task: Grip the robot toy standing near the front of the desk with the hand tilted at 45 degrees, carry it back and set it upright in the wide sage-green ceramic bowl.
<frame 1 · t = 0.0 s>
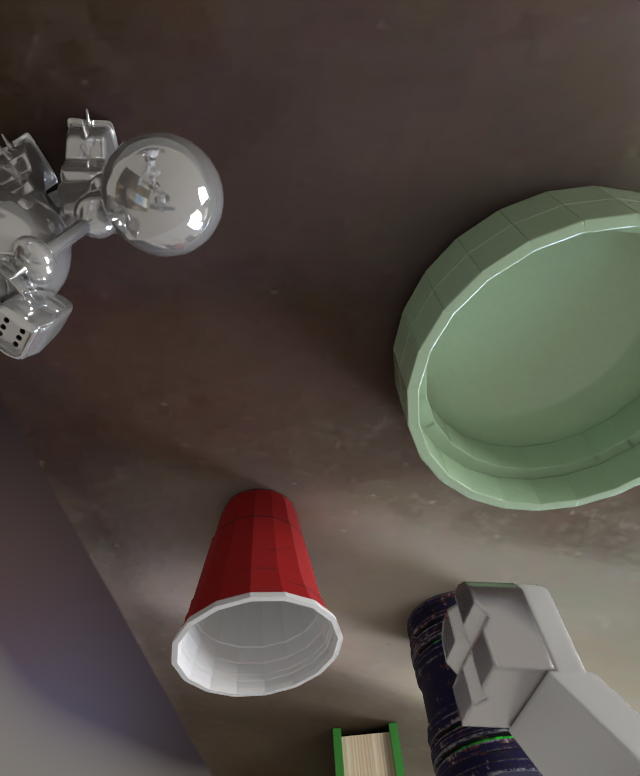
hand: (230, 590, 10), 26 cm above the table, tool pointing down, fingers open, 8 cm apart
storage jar: (455, 619, 56), on the table
robot toy: (102, 171, 31), on the table
plastic cup: (262, 512, 46), on the table
hardback book: (366, 758, 72), on the table
bowl: (544, 341, 38), on the table
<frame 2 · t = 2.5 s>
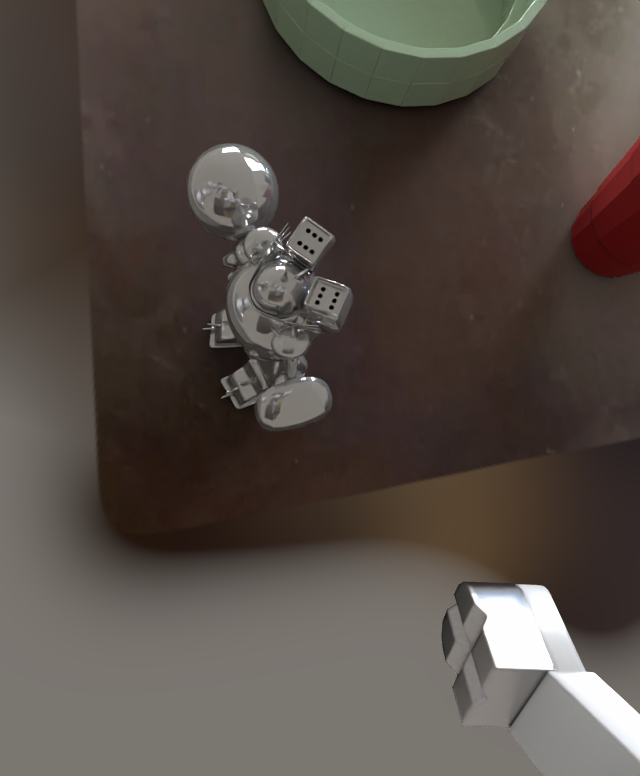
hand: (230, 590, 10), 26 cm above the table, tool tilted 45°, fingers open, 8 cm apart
robot toy: (251, 331, 38), on the table
plastic cup: (603, 239, 43), on the table
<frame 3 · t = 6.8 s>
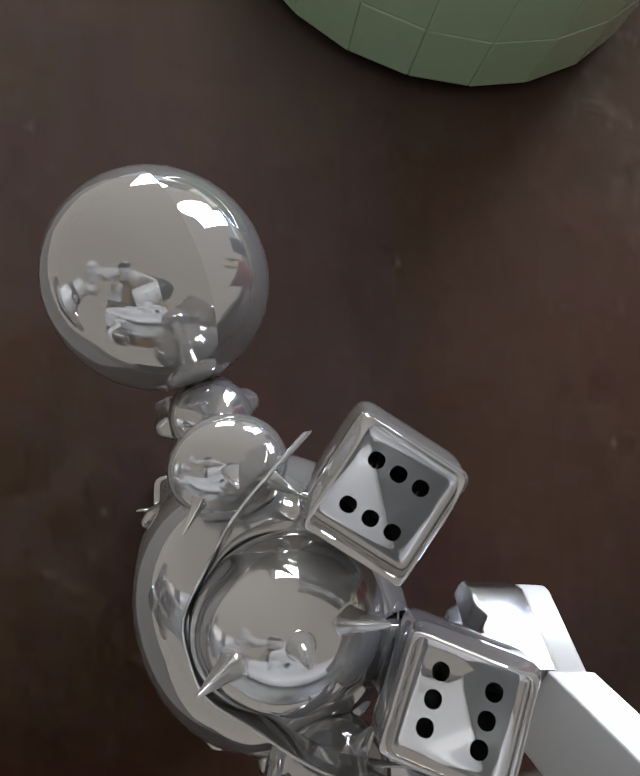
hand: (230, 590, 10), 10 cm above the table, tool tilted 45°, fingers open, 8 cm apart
robot toy: (230, 501, 21), on the table, touching gripper
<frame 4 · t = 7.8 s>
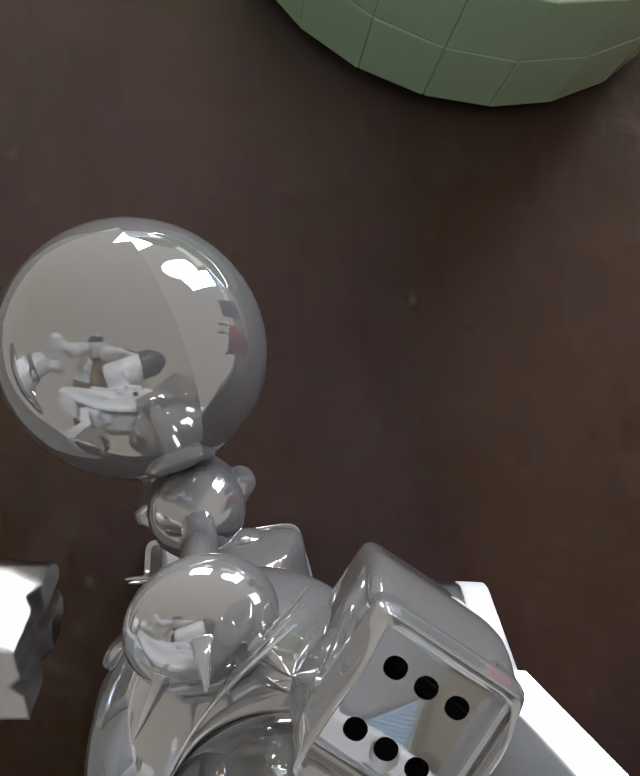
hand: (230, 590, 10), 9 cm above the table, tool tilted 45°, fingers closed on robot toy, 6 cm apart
robot toy: (228, 567, 19), on the table, touching gripper
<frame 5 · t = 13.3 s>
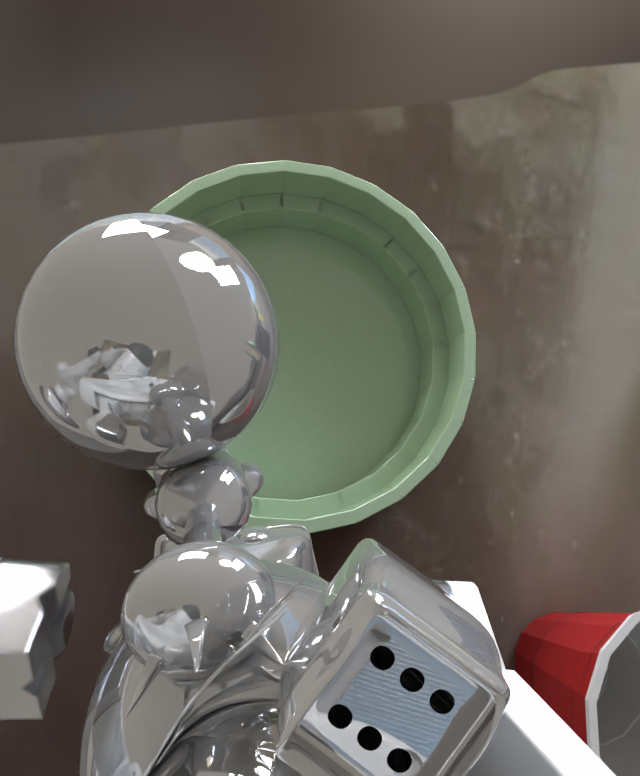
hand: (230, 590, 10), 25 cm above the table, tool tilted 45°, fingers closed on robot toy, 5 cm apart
robot toy: (236, 565, 19), point 15 cm above the table, touching gripper
plastic cup: (554, 656, 36), on the table
bowl: (285, 359, 36), on the table
when the fingers open (10 cm above the table, at t = 19.1 s): robot toy stays where it is, resting on bowl.
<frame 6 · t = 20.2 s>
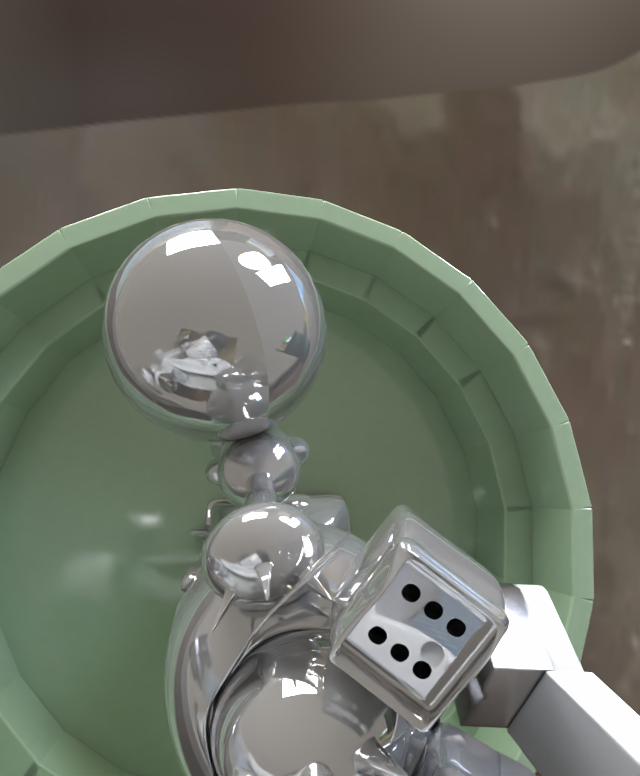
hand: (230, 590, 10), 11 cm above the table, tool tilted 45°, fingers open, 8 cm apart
robot toy: (279, 529, 21), point 1 cm above the table, touching bowl, gripper
bowl: (246, 522, 21), on the table
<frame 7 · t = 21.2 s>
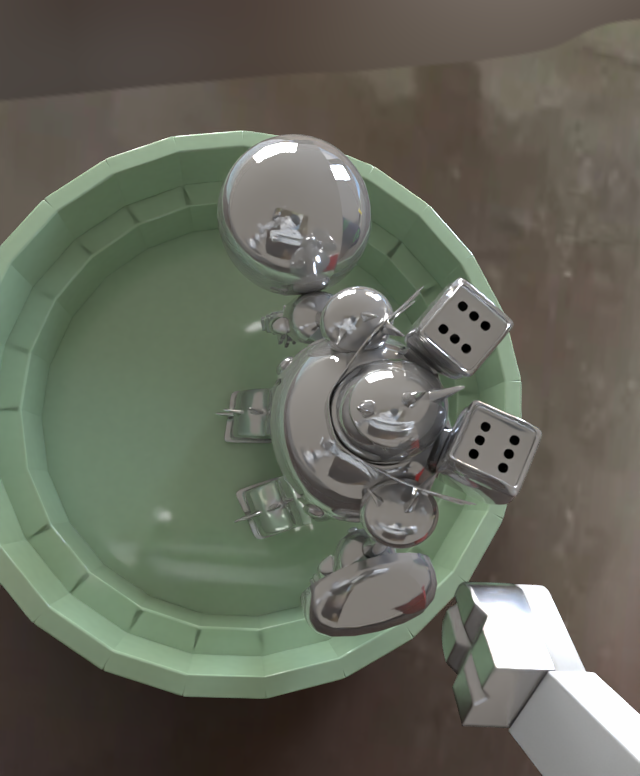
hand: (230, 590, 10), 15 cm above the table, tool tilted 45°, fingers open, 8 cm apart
robot toy: (287, 419, 26), point 1 cm above the table, touching bowl
bowl: (249, 411, 26), on the table
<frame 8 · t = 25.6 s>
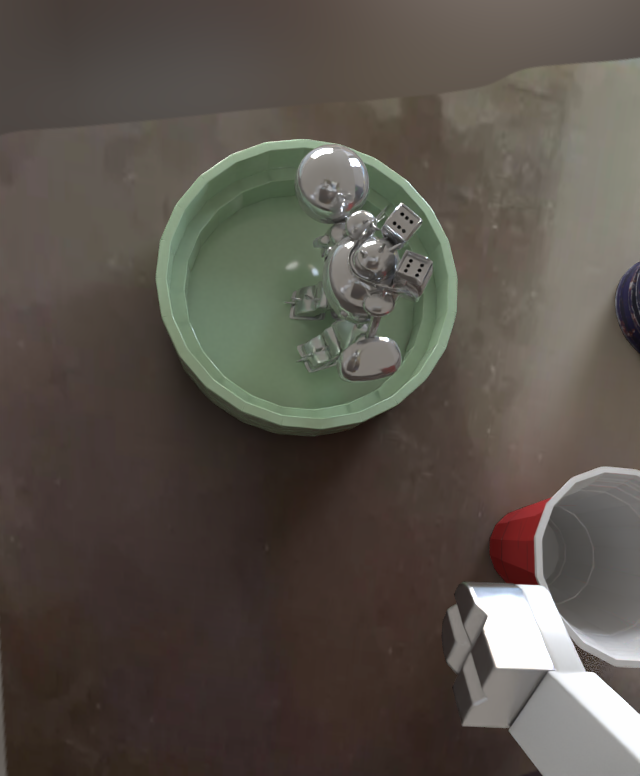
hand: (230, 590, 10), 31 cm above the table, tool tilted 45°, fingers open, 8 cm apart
robot toy: (325, 308, 44), resting on bowl
plastic cup: (522, 545, 44), on the table
bowl: (302, 303, 44), on the table
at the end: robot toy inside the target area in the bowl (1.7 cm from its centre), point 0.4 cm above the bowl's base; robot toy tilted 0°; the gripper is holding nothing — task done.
